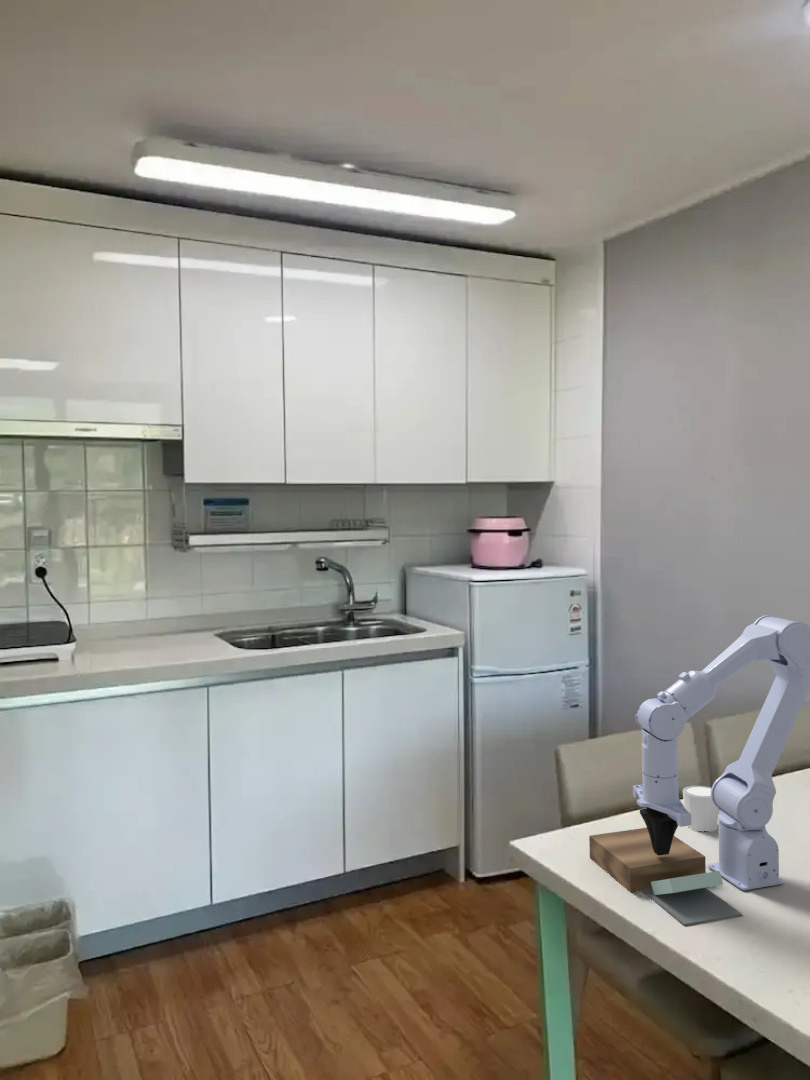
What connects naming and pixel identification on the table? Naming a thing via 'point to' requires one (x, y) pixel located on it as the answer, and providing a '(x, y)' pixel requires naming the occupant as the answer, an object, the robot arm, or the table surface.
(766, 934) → the table surface
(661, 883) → the mint green flat block
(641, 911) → the table surface
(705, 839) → the table surface
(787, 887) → the table surface
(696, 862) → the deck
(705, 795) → the white short cylinder
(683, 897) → the mat
